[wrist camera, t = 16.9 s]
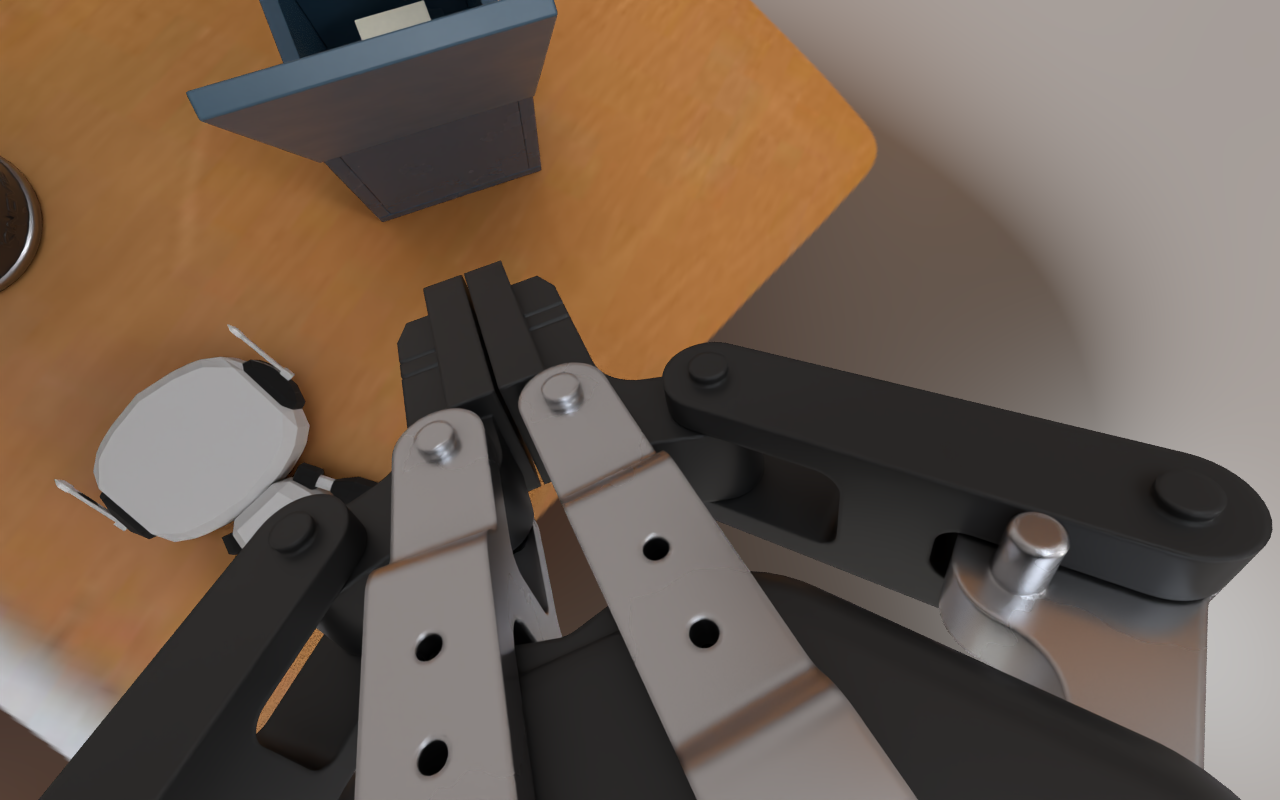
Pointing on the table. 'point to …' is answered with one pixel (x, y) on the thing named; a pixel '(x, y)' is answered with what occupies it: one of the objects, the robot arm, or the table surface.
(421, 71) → the lid
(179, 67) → the table surface
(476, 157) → the caddy
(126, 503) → the robot toy
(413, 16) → the block
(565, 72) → the table surface
